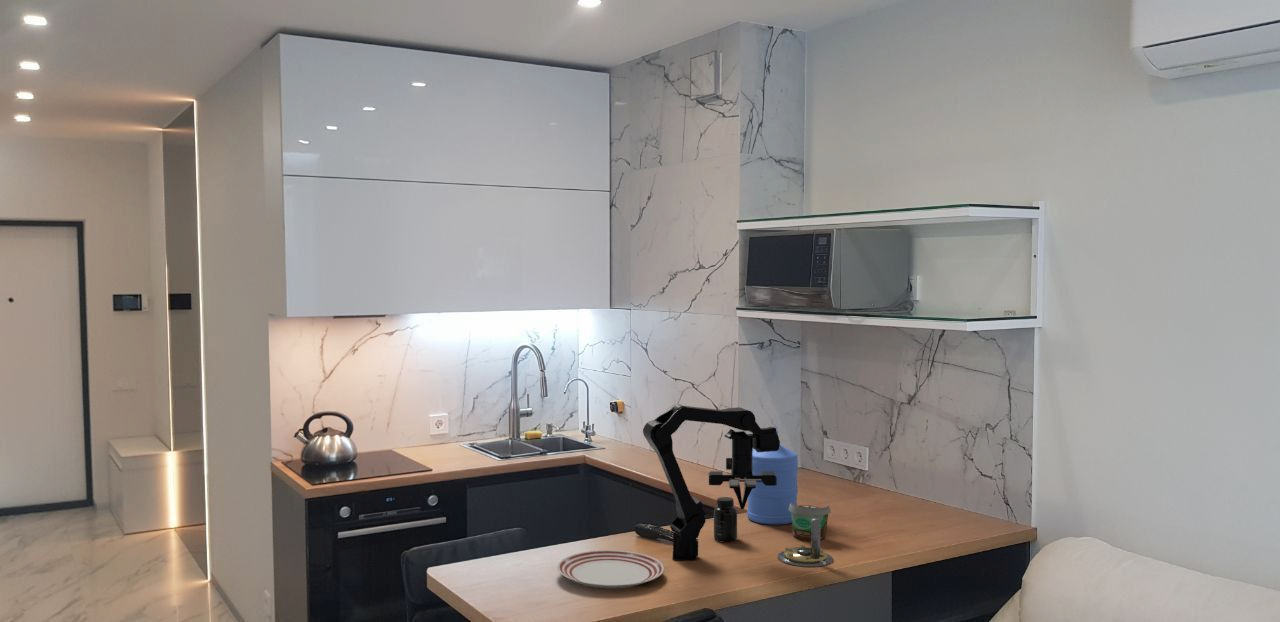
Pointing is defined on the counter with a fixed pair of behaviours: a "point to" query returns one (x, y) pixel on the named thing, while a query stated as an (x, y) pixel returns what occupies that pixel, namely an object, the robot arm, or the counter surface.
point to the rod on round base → (816, 551)
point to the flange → (805, 552)
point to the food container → (808, 521)
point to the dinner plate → (610, 568)
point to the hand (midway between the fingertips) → (742, 508)
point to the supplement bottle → (725, 520)
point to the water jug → (774, 487)
